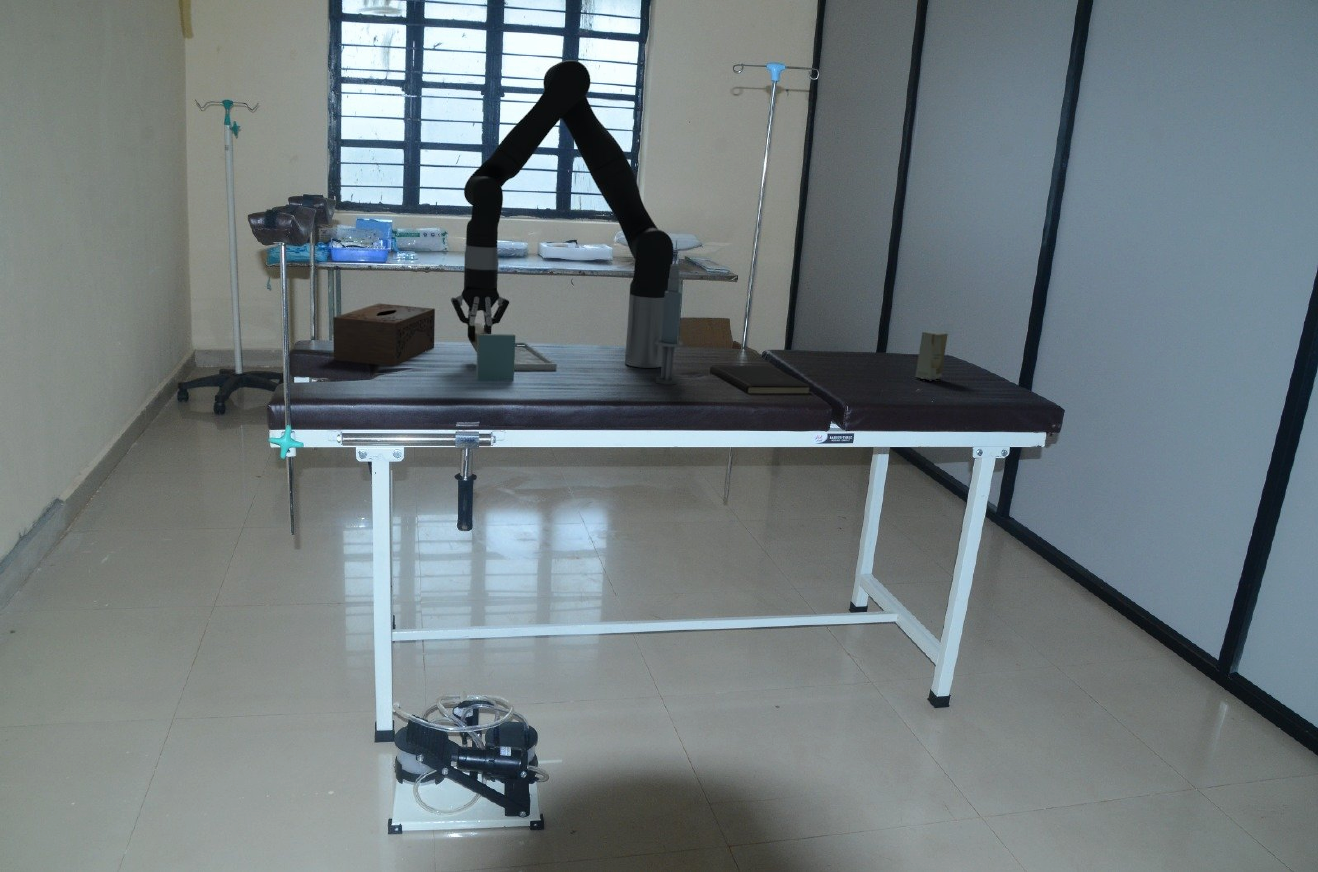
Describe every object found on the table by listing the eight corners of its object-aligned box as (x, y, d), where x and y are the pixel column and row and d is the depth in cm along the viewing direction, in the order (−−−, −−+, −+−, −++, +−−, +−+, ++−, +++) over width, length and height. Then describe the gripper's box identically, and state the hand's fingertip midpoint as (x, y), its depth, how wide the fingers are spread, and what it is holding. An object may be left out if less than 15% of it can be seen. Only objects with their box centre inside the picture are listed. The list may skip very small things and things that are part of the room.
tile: (511, 378, 226) (513, 334, 224) (513, 380, 225) (515, 335, 222) (476, 379, 223) (477, 333, 220) (477, 380, 222) (478, 335, 219)
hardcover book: (768, 374, 256) (769, 365, 255) (810, 395, 235) (811, 386, 234) (709, 374, 250) (710, 365, 250) (746, 395, 230) (747, 385, 229)
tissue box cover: (394, 367, 230) (395, 323, 227) (333, 361, 232) (333, 317, 229) (434, 348, 255) (434, 308, 252) (378, 343, 256) (378, 303, 254)
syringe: (666, 378, 239) (676, 228, 229) (682, 384, 234) (693, 231, 224) (647, 380, 236) (656, 228, 226) (662, 386, 231) (673, 230, 221)
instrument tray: (525, 348, 263) (525, 342, 263) (556, 370, 238) (556, 364, 238) (480, 348, 258) (480, 342, 258) (507, 370, 234) (507, 364, 234)
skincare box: (929, 382, 259) (936, 334, 256) (914, 379, 262) (921, 331, 259) (941, 379, 264) (948, 332, 260) (926, 376, 266) (933, 330, 263)
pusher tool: (479, 339, 243) (480, 323, 241) (496, 366, 228) (497, 349, 226) (468, 339, 242) (469, 323, 240) (484, 366, 227) (486, 349, 225)
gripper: (507, 265, 239) (504, 338, 243) (447, 263, 233) (445, 338, 238) (515, 269, 232) (512, 344, 236) (453, 267, 227) (452, 344, 231)
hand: (479, 341), depth 237 cm, fingers closed on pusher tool, 2 cm apart
